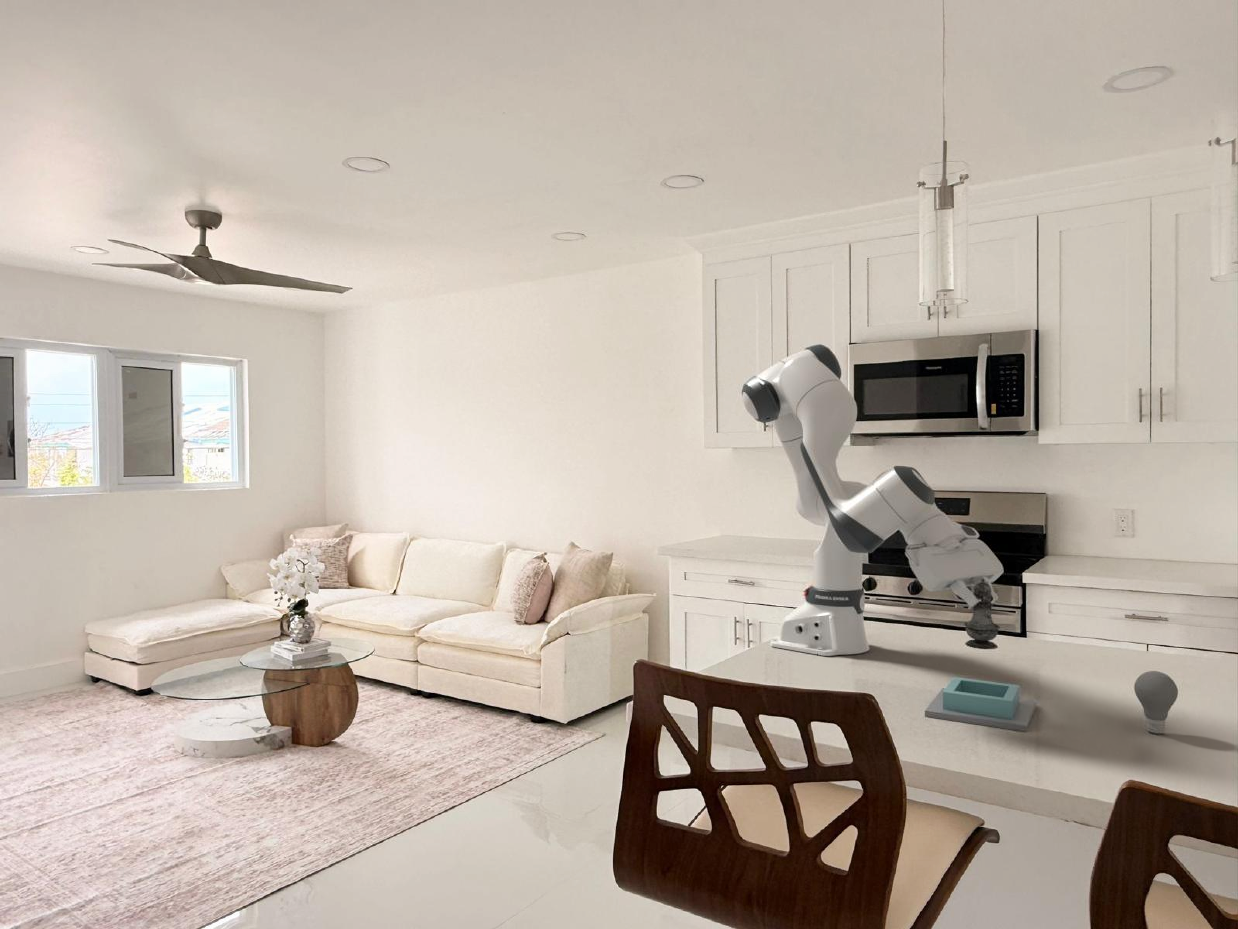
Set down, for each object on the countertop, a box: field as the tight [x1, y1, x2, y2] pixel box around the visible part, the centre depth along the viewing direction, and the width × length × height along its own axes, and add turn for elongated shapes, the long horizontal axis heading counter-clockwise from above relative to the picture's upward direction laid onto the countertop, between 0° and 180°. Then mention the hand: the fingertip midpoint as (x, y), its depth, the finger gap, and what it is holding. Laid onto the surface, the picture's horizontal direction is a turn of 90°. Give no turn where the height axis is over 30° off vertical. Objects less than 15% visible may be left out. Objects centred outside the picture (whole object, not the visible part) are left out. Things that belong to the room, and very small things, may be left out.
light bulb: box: [1133, 670, 1179, 735], centre depth 138 cm, size 6×6×10 cm
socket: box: [924, 676, 1037, 733], centre depth 150 cm, size 16×16×4 cm
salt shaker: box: [963, 578, 1001, 650], centre depth 149 cm, size 6×6×12 cm
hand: (985, 603), depth 149 cm, fingers closed on salt shaker, 4 cm apart
